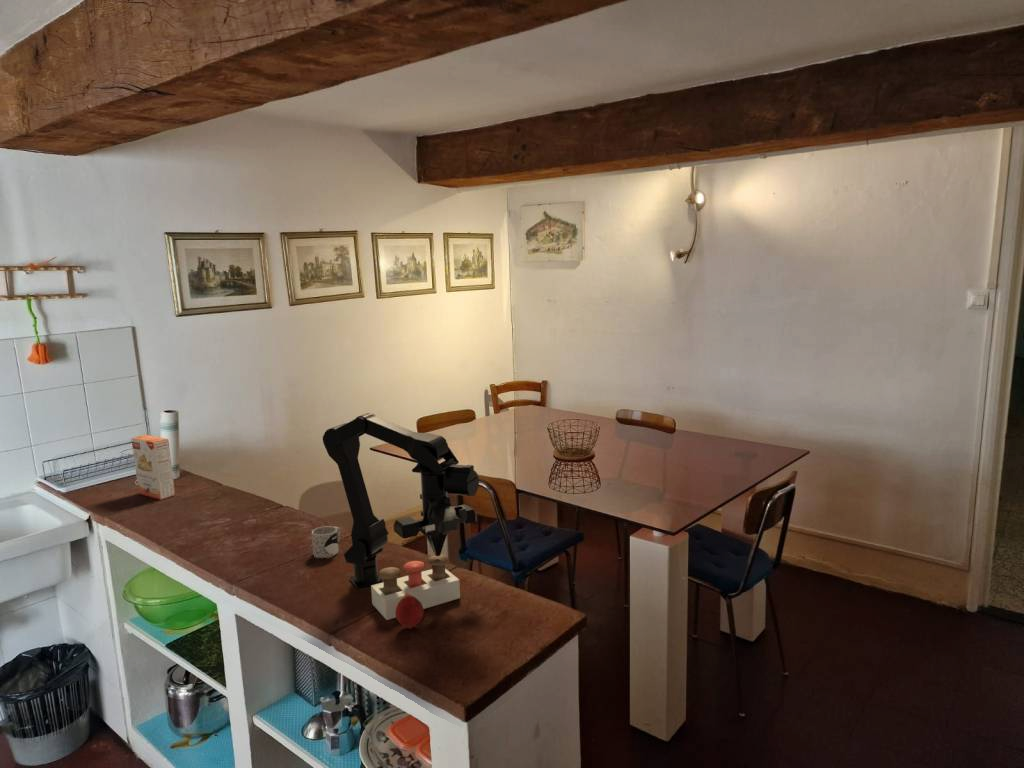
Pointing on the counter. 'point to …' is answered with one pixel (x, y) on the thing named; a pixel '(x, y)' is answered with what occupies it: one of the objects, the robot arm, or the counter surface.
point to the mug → (325, 541)
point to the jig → (416, 593)
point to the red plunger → (414, 573)
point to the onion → (409, 611)
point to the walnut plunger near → (389, 579)
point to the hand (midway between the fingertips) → (437, 555)
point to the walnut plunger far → (438, 566)
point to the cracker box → (153, 466)
